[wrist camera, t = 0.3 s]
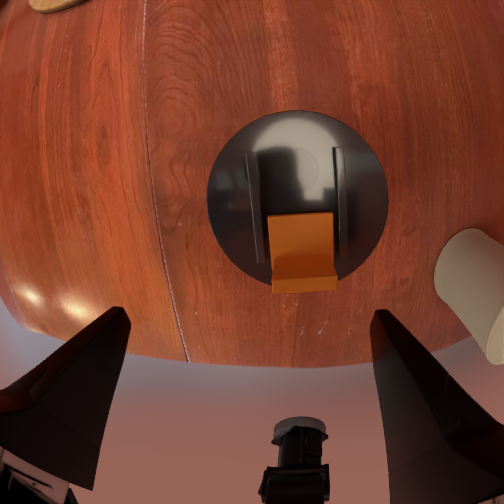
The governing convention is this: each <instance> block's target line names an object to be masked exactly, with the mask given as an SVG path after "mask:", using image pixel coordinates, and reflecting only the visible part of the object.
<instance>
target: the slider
mask: <svg viewBox="0 0 504 504" xmlns="http://www.w3.org/2000/svg"><path fill="white" fill-rule="evenodd" d="M267 219H268V230H269V241H270V252H271V264H272V270H273V274H272V292H273V293H297V292H316V291H333V290H337V283H338V276H337V274H336V271H335V268H334V265H333V262H334V244H333V213H332V212H318V213H300V214H283V215H268V217H267Z"/></svg>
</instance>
